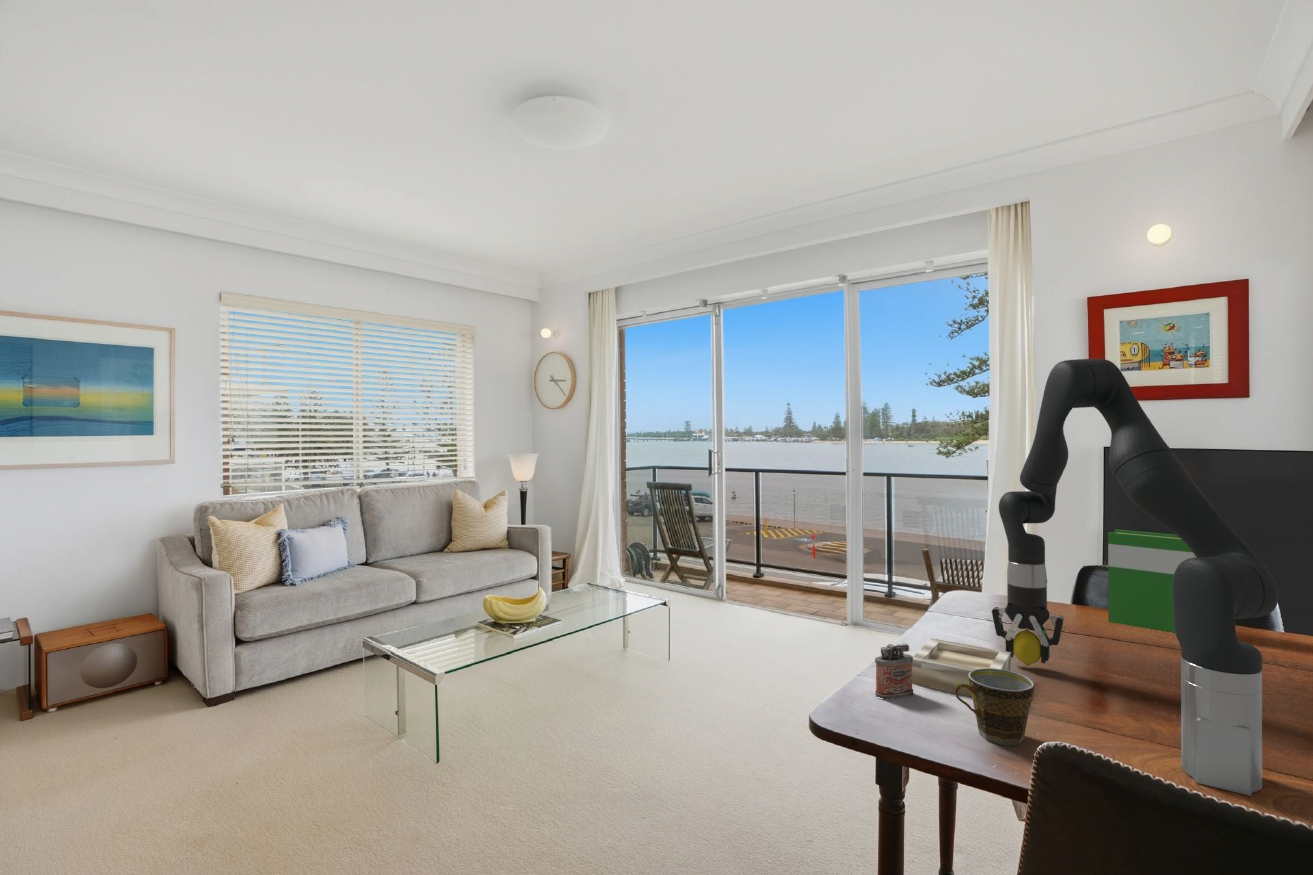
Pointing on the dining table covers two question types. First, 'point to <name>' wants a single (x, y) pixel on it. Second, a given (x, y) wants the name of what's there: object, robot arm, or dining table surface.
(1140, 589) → the green striped box
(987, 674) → the ceramic cup
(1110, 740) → the dining table surface
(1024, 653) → the lemon
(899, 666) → the lighter
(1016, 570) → the robot arm
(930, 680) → the birch base
